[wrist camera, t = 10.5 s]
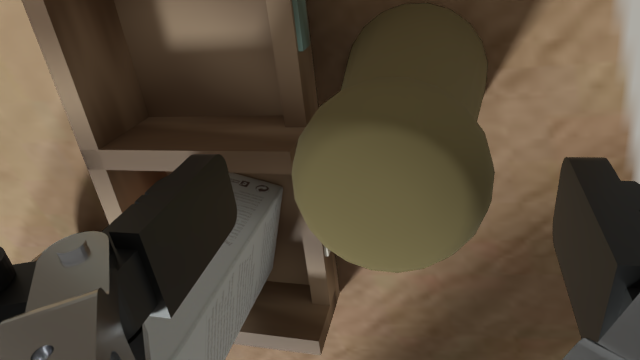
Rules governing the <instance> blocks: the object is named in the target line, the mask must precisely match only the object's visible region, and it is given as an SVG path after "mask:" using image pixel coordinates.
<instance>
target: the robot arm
mask: <svg viewBox="0 0 640 360" xmlns="http://www.w3.org/2000/svg"><path fill="white" fill-rule="evenodd" d="M236 219H237V205H236V201H235V197H234V193H233V188H232V184H231V180H230V176H229V172H228V168H227V164H226V161H225V159H224V157H223V156H222V155H220V154H192V155H190V156H189V157H188V158H187V159H186V160H185V161H184V162H183V163H182V164H181V165H180V166H178V167H177V168H176V169H175V170H174V171H173V172H172V173H171V174H169V175H168V176H166V177H164V178H162V179H160V180H158V181H157V182H156V183H154V184H153V185H152V186H151V187H150V188H149V189H148V190H147V191H146V192H145V195H141V196H140V197H139V198H138V199H137V200H136V201H135V204H132V205H130V206H129V207H128V208H127V209H126V210H125V211H124V212H123V213H122V214H121V215H119V216H118V217H117V218H116V219H115V220H114V221H113V222H112V223H111V224H110V225H109V226H107V227H106V228H105V229H104V230H103V231H102V232H98V231H87V232H81V233H77V234H74V235H71V236H68V237H66V238H63V239H61V240H59V241H57V242H56V243H54V244H52V245H51V246H50V247H48V248H47V249H46V250H45V251H43V253H42V254H41V255H40V256H39V258H38V259H37V261H34V262H28V263H21V264H15V265H12V263H11V262H10V260H9V258H8V256H7V255H6V253H5V251H4V249H3V248H1V247H0V360H151V355H150V346H149V337H148V331H147V329H146V326H145V324H144V322H145V321H146V319H147V318H148V317H149V316H153V317H161V318H170V319H171V318H172V317H173V315H174V314H175V312H176V311H177V309H178V308H179V306H180V305H181V304H182V302H183V301H184V299H185V298H186V296H187V295H188V293H189V292H190V291H191V289H192V288H193V286H194V285H195V283H196V282H197V280H198V279H199V278H200V276H201V275H202V273H203V272H204V270H205V269H206V267H207V266H208V265H209V263H210V262H211V260H212V259H213V257H214V256H215V254H216V253H217V251H218V250H219V249H220V247H221V246H222V244H223V243H224V241H225V240H226V238H227V237H228V236H229V234H230V233H231V231H232V230H233V228H234V226H235V223H236ZM553 243H554V248H555V251H556V254H557V258H558V261H559V265H560V268H561V271H562V275H563V278H564V281H565V285H566V288H567V291H568V295H569V298H570V301H571V305H572V308H573V312H574V315H575V318H576V322H577V325H578V328H579V332H580V335H581V338H582V340H580V341H579V342H578V343H577V344H576V345H575V346H574V347H573V348H572V349H571V350H570V351H569V353H568V354H567V355H566V356H565V357H564V358H563V359H562V360H640V184H638V183H637V182H635V181H621V180H620V179H619V177H618V176H617V174H616V172H615V171H614V169H613V167H612V166H611V164H610V163H609V161H608V160H607V158H584V157H566V158H565V159H564V161H563V163H562V167H561V173H560V179H559V185H558V192H557V198H556V205H555V211H554V217H553Z"/></svg>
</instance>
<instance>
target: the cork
mask: <svg viewBox="0 0 640 360" xmlns="http://www.w3.org/2000/svg"><path fill="white" fill-rule="evenodd" d="M487 68H488V63H487V59H486V55H485V51H484V47H483V43H482V41H481V39H480V38H479V37H478V35H477V34H476V32H475V31H474V29H473V28H472V26H471V25H470V23H468V22H467V21H466V20H464V19H463V18H462V17H460V16H459V15H457V14H456V13H455V12H453V11H452V10H450V9H447V8H444V7H440V6H437V5H433V4H430V3H415V4H403V5H400V6H397V7H395V8H392V9H390V10H387V11H385V12H382V13H381V14H379V15H378V16H377V17H376V18H375V19H373V20H372V21H371V22H370V23H368V24H367V25H366V26H365V27H364V28H363V30H362V31H361V33H360V34H359V36H358V37H357V39H356V40H355V42H354V44H353V45H352V48H351V52H350V56H349V59H348V63H347V67H346V71H345V75H344V79H343V83H342V88H341V91H340V92H338V93H337V94H336V95H334V96H333V97H332V98H331V99H329V100H328V101H327V102H325V103H324V104H323V105H321V106H320V107H319V109H318V110H317V111H316V112H315V114H314V115H313V117H312V118H311V120H310V121H309V123H308V124H307V126H306V127H305V129H304V130H303V132H302V134H301V135H300V137H299V139H298V143H297V148H296V152H295V157H294V161H293V167H292V182H293V189H294V197H295V201H296V203H297V205H298V207H299V209H300V211H301V214H302V216H303V218H304V220H305V222H306V224H307V226H308V227H309V229H310V230H311V232H312V233H313V234H314V235H315V236H316V237H317V238H318V239H319V240H320V242H321V243H322V244H323V245H324V246H325V247H326V248H327V249H329V250H330V251H332V252H333V253H335V254H336V255H338V256H339V257H341V258H342V259H344V260H345V261H347V262H350V263H353V264H355V265H358V266H361V267H364V268H367V269H370V270H375V271H385V272H395V273H399V272H406V271H413V270H419V269H424V268H426V267H429V266H431V265H433V264H435V263H437V262H440V261H442V260H444V259H446V258H448V257H450V256H451V255H453V254H454V253H456V252H457V251H458V250H459V249H460V248H461V247H462V246H463V245H464V244H466V243H467V242H468V241H469V240H470V239H471V238H472V237H473V236H474V235H475V234H476V232H477V230H478V228H479V226H480V224H481V222H482V220H483V219H484V217H485V215H486V213H487V211H488V208H489V206H490V203H491V199H492V190H493V182H494V173H495V172H494V167H493V162H492V158H491V154H490V151H489V147H488V143H487V139H486V136H485V133H484V131H483V130H482V128H481V127H480V126H479V124H478V123H477V119H478V115H479V111H480V107H481V103H482V99H483V95H484V91H485V87H486V79H487Z"/></svg>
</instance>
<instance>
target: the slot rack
mask: <svg viewBox="0 0 640 360" xmlns="http://www.w3.org/2000/svg"><path fill="white" fill-rule="evenodd" d="M22 2H23V5H24V8H25V10H26V13H27V15H28V18H29V20H30V23H31V26H32V28H33V31H34V33H35V36H36V38H37V41H38V43H39V46H40V49H41V51H42V54H43V56H44V59H45V61H46V64H47V66H48V69H49V72H50V74H51V77H52V79H53V82H54V84H55V87H56V90H57V92H58V95H59V97H60V100H61V102H62V105H63V107H64V110H65V113H66V115H67V118H68V120H69V123H70V125H71V128H72V130H73V133H74V136H75V138H76V141H77V143H78V146H79V148H80V151H81V153H82V156H83V159H84V161H85V164H86V166H87V169H88V171H89V174H90V177H91V179H92V182H93V184H94V187H95V189H96V192H97V194H98V197H99V200H100V202H101V205H102V207H103V210H104V212H105V215H106V217H107V220H108V223H109V225H110V224H111V223H112V222H113V221H114V220H115V219H116V218H117V217H118V216H119V215H121V214H122V213H123V212H124V211H125V210H126V209H127V208H128V207H129V206H130V205H132V204H135V201H136V200H137V199H138V198H139V197H140V196H141V195H145V192H146V191H147V190H148V189H149V188H150V187H151V186H152V185H153V184H154V183H156V182H157V181H158V180H160V179H162V178H164V177H166V176H168V175H169V174H171V173H172V172H173V171H174V170H175V169H176V168H177V167H178V166H180V165H181V164H182V163H183V162H184V161H185V160H186V159H187V158H188V157H189V156H190V155H192V154H220V155H222V156H223V157H224V159H225V161H226V164H227V168H228V172H229V173H235V174H239V175H243V176H246V177H250V178H253V179H257V180H261V181H265V182H269V183H272V184H276V185H279V186H282V187H283V193H282V201H281V209H280V217H279V224H278V233H277V240H276V248H275V255H274V262H273V269H272V271H271V273H270V275H269V276H268V278H267V280H266V282H265V284H264V286H263V288H262V290H261V292H260V294H259V295H258V297H257V299H256V301H255V303H254V305H253V307H252V308H251V310H250V312H249V314H248V316H247V318H246V320H245V322H244V324H243V326H242V328H241V329H240V331H239V333H238V335H237V337H236V339H235V341H234V343H233V344H239V345H246V346H254V347H262V348H269V349H277V350H284V351H292V352H299V353H307V354H314V355H321V353H322V350H323V347H324V343H325V340H326V337H327V333H328V330H329V327H330V323H331V320H332V317H333V314H334V310H335V307H336V304H337V300H338V297H339V294H340V292H339V283H338V274H337V266H336V257H335V253H333V252H332V251H330V250H329V249H327V248H326V247H325V246H324V245H323V244H322V243H321V242H320V240H319V239H318V238H317V237H316V236H315V235H314V234H313V233H312V232H311V230H310V229H309V227H308V226H307V224H306V222H305V220H304V218H303V216H302V214H301V211H300V209H299V207H298V205H297V203H296V201H295V197H294V189H293V182H292V167H293V161H294V157H295V152H296V148H297V143H298V139H299V137H300V135H301V134H302V132H303V130H304V129H305V127H306V126H307V124H308V123H309V121H310V120H311V118H312V117H313V115H314V114H315V112H316V111H317V110H318V100H317V91H316V83H315V74H314V65H313V57H312V48H311V39H310V30H309V22H308V13H307V4H306V0H22Z"/></svg>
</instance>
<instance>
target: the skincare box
mask: <svg viewBox="0 0 640 360" xmlns="http://www.w3.org/2000/svg"><path fill="white" fill-rule="evenodd" d="M229 176H230V180H231V184H232V188H233V193H234V197H235V201H236V205H237V219H236V223H235V226H234V228H233V230H232V231H231V233H230V234H229V236H228V237H227V238H226V240H225V241H224V243H223V244H222V246H221V247H220V249H219V250H218V251H217V253H216V254H215V256H214V257H213V259H212V260H211V262H210V263H209V265H208V266H207V267H206V269H205V270H204V272H203V273H202V275H201V276H200V278H199V279H198V280H197V282H196V283H195V285H194V286H193V288H192V289H191V291H190V292H189V293H188V295H187V296H186V298H185V299H184V301H183V302H182V304H181V305H180V306H179V308H178V309H177V311H176V312H175V314H174V315H173V317H172V318H171V319H170V318H161V317H153V316H149V317H148V318H147V319H146V321H145V322H144V324H145V326H146V329H147V331H148V337H149V346H150V355H151V360H225V358H226V357H227V355H228V353H229V351H230V349H231V347H232V345H233V343H234V341H235V339H236V337H237V335H238V333H239V331H240V329H241V328H242V326H243V324H244V322H245V320H246V318H247V316H248V314H249V312H250V310H251V308H252V307H253V305H254V303H255V301H256V299H257V297H258V295H259V294H260V292H261V290H262V288H263V286H264V284H265V282H266V280H267V278H268V276H269V275H270V273H271V271H272V269H273V262H274V255H275V248H276V240H277V233H278V224H279V217H280V209H281V201H282V193H283V187H282V186H279V185H276V184H272V183H269V182H265V181H261V180H257V179H253V178H250V177H246V176H243V175H239V174H235V173H229Z"/></svg>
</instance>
